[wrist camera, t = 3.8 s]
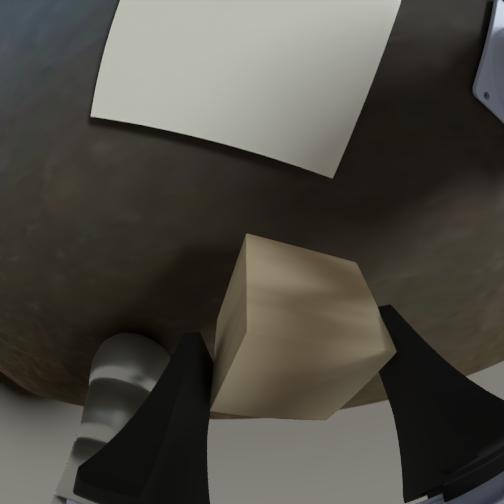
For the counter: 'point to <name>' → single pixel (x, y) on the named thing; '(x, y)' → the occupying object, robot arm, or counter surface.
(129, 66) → the plate
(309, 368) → the cube
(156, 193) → the counter surface
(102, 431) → the plastic bottle
